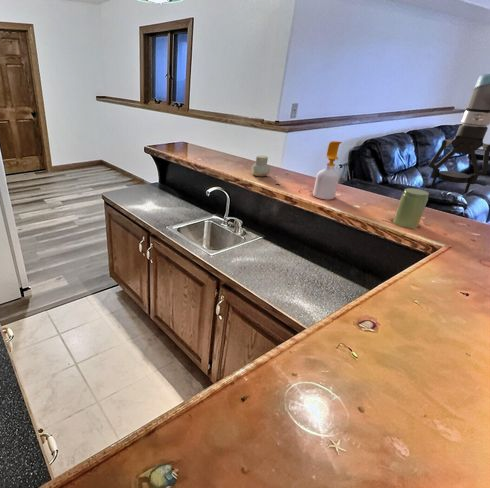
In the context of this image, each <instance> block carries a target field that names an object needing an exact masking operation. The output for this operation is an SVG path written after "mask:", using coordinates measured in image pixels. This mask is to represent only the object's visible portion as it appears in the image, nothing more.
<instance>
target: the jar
mask: <svg viewBox="0 0 490 488" xmlns="http://www.w3.org/2000/svg"><path fill="white" fill-rule="evenodd" d="M429 195H430V192H428V191H427V190H425V189H424V190H423V189H419V188H411V187H410V188H409V187H407V188H404V190H403V192H402V193H401V195H400V199H399V203H398V204H397V208H396V211H395V213H394V217H393V220H392V222H393V223H394V225H396V226H399V227H403V228H406V229H407V228H408V229H417V228H418V227H419V225H420V222H421V219H422V218H423V217H422V216H423V214H424V211H425V209H426V206H427V204H428V201H429Z"/></svg>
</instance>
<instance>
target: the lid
mask: <svg viewBox="0 0 490 488" xmlns="http://www.w3.org/2000/svg"><path fill="white" fill-rule="evenodd" d="M470 175H471V174H470ZM470 175H469V174H468V173H464V172H459V171H453V170H440V171H439V174H438V176H437V179H438V180H441V181H444V182H448V183H456V184H467V183H468V182H469V179H470V177H471V176H470Z"/></svg>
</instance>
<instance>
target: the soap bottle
mask: <svg viewBox="0 0 490 488" xmlns="http://www.w3.org/2000/svg"><path fill="white" fill-rule="evenodd" d="M342 143H343V142H342V141H336V140H335V141H334V140H333V141H332V140H331V141H330V142H329V143H328V147H327V151H326V159H328V162H327V163H326V165H325V168H324V169H321V170H319V171H318V172H317V174H316V177H315V182H314V187H313V191H312V196H313V197H314V198H316V199H319V200H326V201H329V200H333V199H335V197H336V194H337V189H338V185H339V181H340V174H339V173H338V171H337V170H335V166H336V163H334V162H335V161H336V160H339V157H338V152H339V148H340V144H342Z"/></svg>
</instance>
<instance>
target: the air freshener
mask: <svg viewBox="0 0 490 488" xmlns="http://www.w3.org/2000/svg"><path fill="white" fill-rule="evenodd" d="M268 158H269V157H268V156H267V155H261V154H260V155H257V156H256V157H255V163H254V164H251V167H250V169H251V170H250V172H251V174H252V175H253V176H255V177H266V176H268V175H269V174H270V171H271V169H270V166H269V164H268V161H269V160H268Z"/></svg>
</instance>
